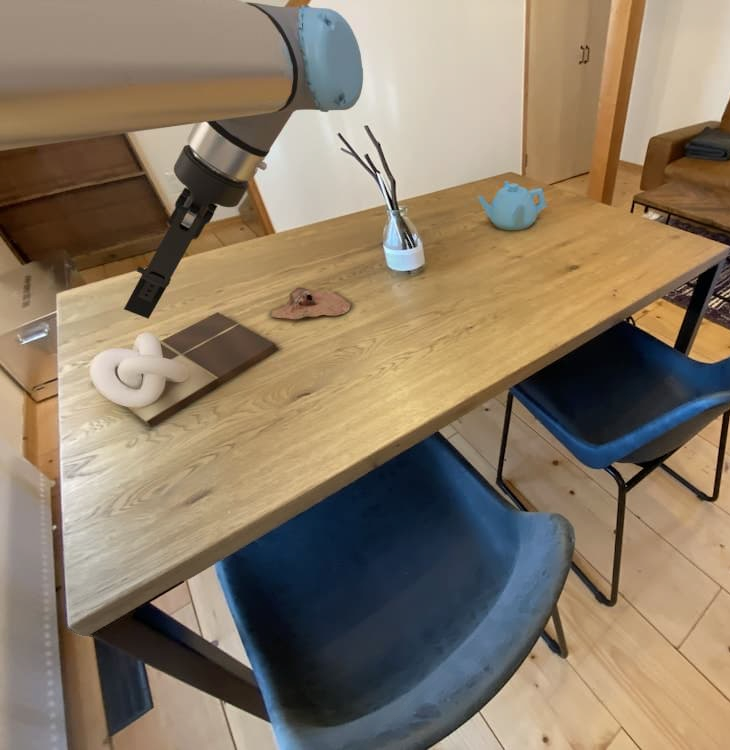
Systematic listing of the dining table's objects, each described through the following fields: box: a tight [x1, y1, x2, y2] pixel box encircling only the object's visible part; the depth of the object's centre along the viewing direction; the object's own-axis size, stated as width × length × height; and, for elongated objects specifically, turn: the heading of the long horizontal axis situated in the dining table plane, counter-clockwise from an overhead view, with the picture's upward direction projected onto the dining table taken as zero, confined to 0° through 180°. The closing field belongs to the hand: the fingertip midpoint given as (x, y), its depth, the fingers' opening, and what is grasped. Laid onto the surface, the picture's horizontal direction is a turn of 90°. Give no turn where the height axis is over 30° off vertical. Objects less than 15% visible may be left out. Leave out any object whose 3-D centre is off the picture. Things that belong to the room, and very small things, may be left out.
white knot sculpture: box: [89, 332, 190, 408], centre depth 72 cm, size 11×12×9 cm
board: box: [115, 312, 279, 428], centre depth 82 cm, size 24×20×2 cm
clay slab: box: [271, 287, 352, 320], centre depth 95 cm, size 15×13×3 cm
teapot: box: [477, 180, 547, 231], centre depth 125 cm, size 15×15×11 cm
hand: (151, 287), depth 62 cm, fingers open, 13 cm apart
